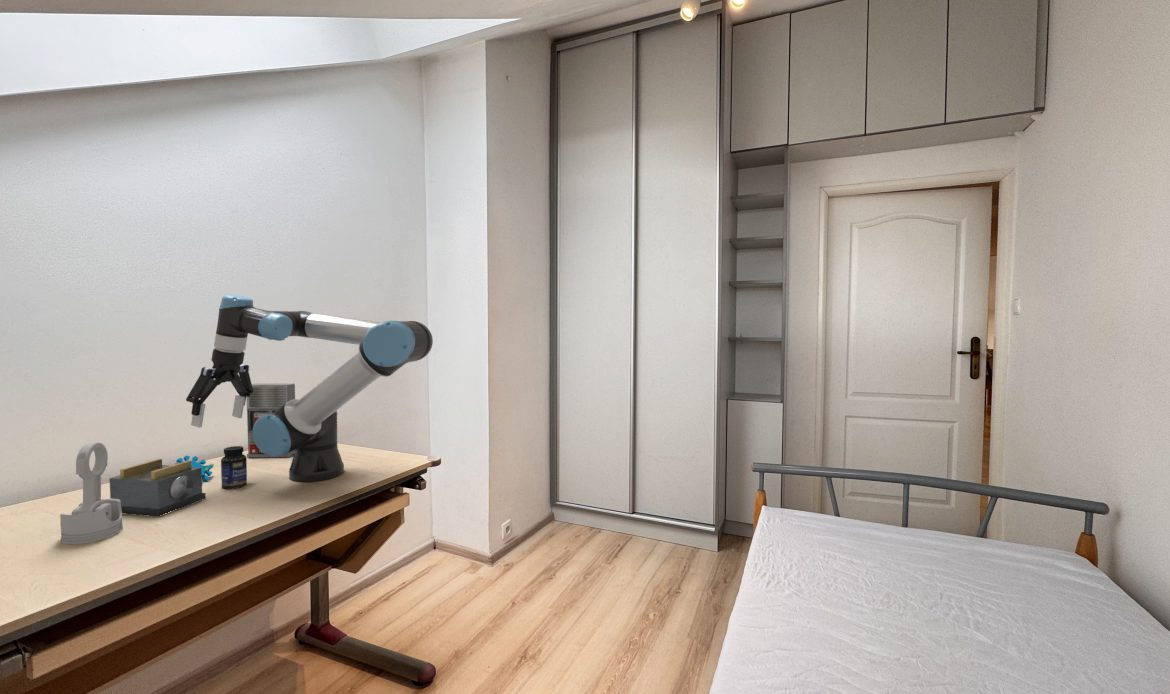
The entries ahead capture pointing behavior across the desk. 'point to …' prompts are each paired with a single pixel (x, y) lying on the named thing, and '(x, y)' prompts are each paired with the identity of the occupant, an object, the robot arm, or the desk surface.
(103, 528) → the engine component
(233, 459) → the pill bottle
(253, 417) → the grey cassette player
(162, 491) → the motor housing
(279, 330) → the robot arm
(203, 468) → the blue spiky rounded piece
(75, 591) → the desk surface
